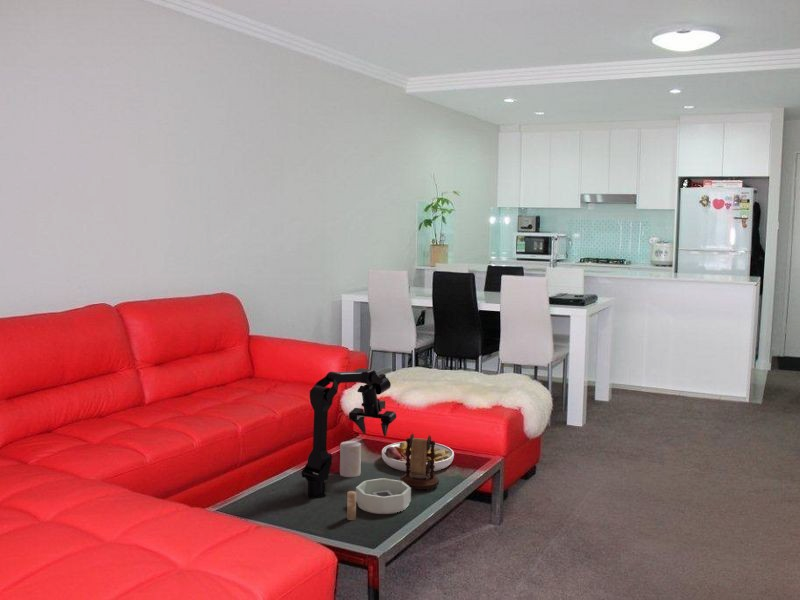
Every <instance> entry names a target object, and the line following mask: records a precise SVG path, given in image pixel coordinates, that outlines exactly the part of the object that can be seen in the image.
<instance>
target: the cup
mask: <svg viewBox="0 0 800 600" xmlns="http://www.w3.org/2000/svg"><path fill="white" fill-rule="evenodd" d="M339 449H340V450H339V452H340V453H339V454H340V455H339V475H340V476H341V477H344V478H356V477H358V476H360V475H361V471H362V470H361V467H362V464H361V461H362V460H361V459H362V443H360V442H359V441H354V440H346V441H342V442H340V445H339Z"/></svg>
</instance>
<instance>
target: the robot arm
mask: <svg viewBox="0 0 800 600" xmlns="http://www.w3.org/2000/svg"><path fill="white" fill-rule="evenodd" d="M386 376H387V375H386V374H385V373H381V374H379V375H378V374H377V372H376V370H373V369H368V368H363V367H362V368H357V369H355V370H354V371H329V372H327V374H326V375H325V376H324V377H323V378H321V379H319V380H318V381H316V383H315V384H314V385H313V386H312V388H311V389H310V390H309V401H310V405H311V407H312V409H313V430H312V432H313V433H312V434H313V435H312V450H311V451H310V453H309V454H308V457H307V462H306V465H305V466H304V467H303V469H302V470H301V472H300V473H301V477H302V478H304V479H305V491H304V492H303V493H304V495H305V496H306V497H307V498H308V499H317V498H323V497H324V498H325V497H326V496H327V495H326V491H327V489H326V488H327V487H326V486H327V485H326V483H327V482H326V480H328V479H329V475H330V471H331V468H332V467H331V466H332V465H333V463H332V461H333V460H332V458H333V454H332V453H330V452H328V449H327V439H328V418H329V417H328V416H329V415H328V414H329V413H328V412H329V410H330V409H331V406H332V405H333V401H334V397H335V396H336V395H337V394H338V392H339V385H340V384H345V383H347V384H348V383H359V384H364V385H360V386H359V388H358V389H357V392H358V393H360V394H361V397H362V399H361V400H362V403H361V408H359V407H354V408H353V409H352V410H351V411H350V412H349V413H348V420H349V421H351V422H353V423H354V424H355V425H356V426H357V427H358V428H359V430H360V432H361V433H362V434H363V435H365V434H366V433H367V432H366V423H365V418H371V419H380V422H381V423H380V426H381V431H382V435H383V437H386V436H387V433H388V428H389V426H390V424H392V423H393V422H394V421H395V420H396V419H397V414H396V412H395V411H393V410H385V409H386V400H381V399H379V398H378V395H381V394H383V393H385V392H386V391H388V390H390V388H391V386H392V384H391V381H390V380H389V378H387V377H386ZM330 384H332V385H331V386H330V387H327V386H329V385H330ZM383 410H385V412H383ZM381 412H383V413H381Z"/></svg>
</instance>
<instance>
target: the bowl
mask: <svg viewBox="0 0 800 600" xmlns="http://www.w3.org/2000/svg"><path fill="white" fill-rule="evenodd" d="M431 446H432V445H431ZM431 446H430V449H429V451H428V452H427V453H429V454H430V453H431V448H432V447H431ZM434 446H435V447H434V450H435V452H434V453H435V458H434V464H433V465H434V466H435V468H434V469H433V470H434V472H438V471H441V469H442V470H444V469H446V468H447V467H449V466H450V465H451V464H452V462H453V460H454V457H455V453H454V452H455V451H454V450H453V449H452V448H450V447H448V446H446V445H444V444H440V443H436V442H435V445H434ZM406 447H407V442H406V441H399V442H394V443H391V444H388V445H385V446H384V447H383V448H382V449H381V457H382V460H383V462H384V463H385V464H386V465H387V466H388V467H391V468H393V469H396V470H397V471H401V472H406V469H407V468H406V467H407V466H406V465H405V464H406V462H407V461H406V458H407V456H406V454H405V453H406V450H407V449H406ZM410 451H411V448H410ZM409 458H410V460H411V455H410V456H409ZM429 459H430V457H429V456H428V457H426V464H427V462H428V460H429ZM430 460H431V459H430ZM409 462H410V461H409ZM409 470H410V469H409ZM430 470H431V469H430ZM430 472H431V471H430Z"/></svg>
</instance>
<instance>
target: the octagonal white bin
mask: <svg viewBox="0 0 800 600" xmlns="http://www.w3.org/2000/svg"><path fill="white" fill-rule="evenodd" d="M355 492H356V506H357V507H358V508H359V509H361V510H362V511H364V512H366V513H370V514H377V515H390V514H391V515H392V514H398V513H400V511H401V512H403V510H404V511H405V510H407V509H408V508H409V507H408V506H410V503H411V502H412V488H410V487H409V486H408V485H407V484H405V483H404V482H403V481H400V479H397V480H396V479H392V478H385V477H383V478H381V477H380V478H375V479H373V478H372V479H367V480H364V481H362V482H360V483H359V485H357V486H356V487H355ZM407 507H408V508H407ZM406 508H407V509H406ZM397 512H398V513H397Z"/></svg>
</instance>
